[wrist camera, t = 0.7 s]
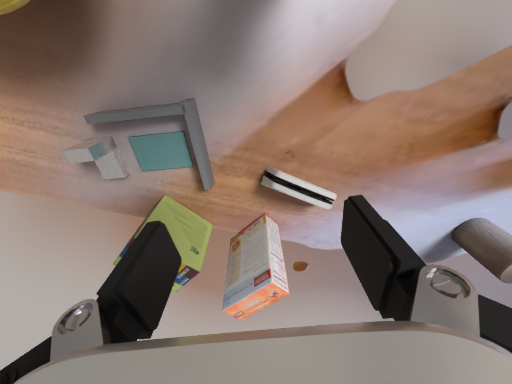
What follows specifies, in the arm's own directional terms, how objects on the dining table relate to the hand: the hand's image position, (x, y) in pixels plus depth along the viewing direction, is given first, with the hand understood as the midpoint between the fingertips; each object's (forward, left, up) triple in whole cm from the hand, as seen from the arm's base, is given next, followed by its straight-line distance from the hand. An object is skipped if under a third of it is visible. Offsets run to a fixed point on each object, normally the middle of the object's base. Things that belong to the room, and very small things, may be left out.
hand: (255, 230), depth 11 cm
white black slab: (+18, +8, -36) cm, 41 cm away
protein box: (+27, -24, -36) cm, 50 cm away
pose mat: (+7, -22, -35) cm, 42 cm away
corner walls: (+7, -22, -35) cm, 42 cm away
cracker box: (+33, -4, -36) cm, 48 cm away
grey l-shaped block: (+7, -34, -35) cm, 49 cm away
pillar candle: (+39, +58, -36) cm, 79 cm away
